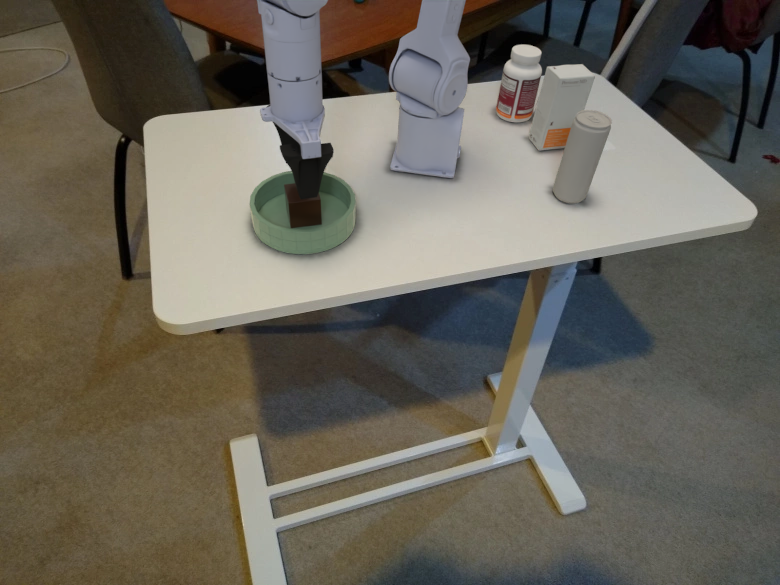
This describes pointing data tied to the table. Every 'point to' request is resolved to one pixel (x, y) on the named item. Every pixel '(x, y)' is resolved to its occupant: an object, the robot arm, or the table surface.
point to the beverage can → (581, 155)
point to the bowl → (309, 239)
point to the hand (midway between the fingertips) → (301, 178)
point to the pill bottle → (519, 84)
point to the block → (302, 208)
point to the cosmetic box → (559, 104)
